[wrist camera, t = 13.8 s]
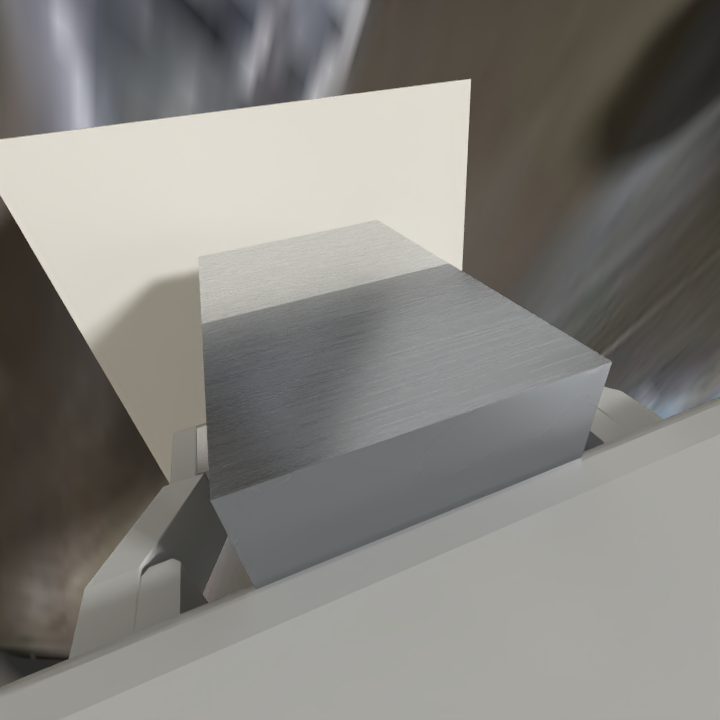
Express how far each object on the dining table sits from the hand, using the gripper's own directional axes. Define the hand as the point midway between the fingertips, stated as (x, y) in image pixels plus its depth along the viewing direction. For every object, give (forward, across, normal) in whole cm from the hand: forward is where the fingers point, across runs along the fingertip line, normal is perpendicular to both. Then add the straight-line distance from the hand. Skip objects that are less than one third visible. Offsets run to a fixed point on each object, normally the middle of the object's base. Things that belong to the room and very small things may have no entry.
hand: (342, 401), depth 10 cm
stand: (+13, 0, 0) cm, 13 cm away
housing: (+3, 0, 0) cm, 3 cm away
